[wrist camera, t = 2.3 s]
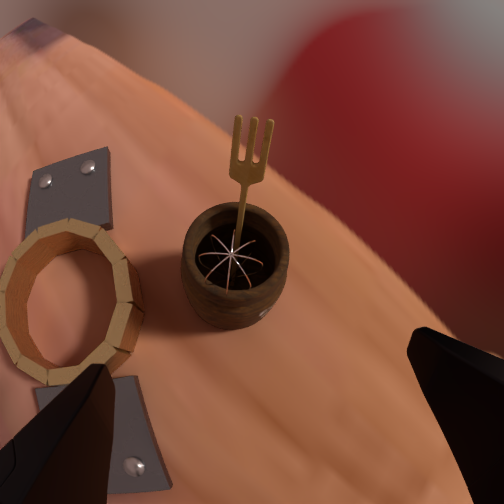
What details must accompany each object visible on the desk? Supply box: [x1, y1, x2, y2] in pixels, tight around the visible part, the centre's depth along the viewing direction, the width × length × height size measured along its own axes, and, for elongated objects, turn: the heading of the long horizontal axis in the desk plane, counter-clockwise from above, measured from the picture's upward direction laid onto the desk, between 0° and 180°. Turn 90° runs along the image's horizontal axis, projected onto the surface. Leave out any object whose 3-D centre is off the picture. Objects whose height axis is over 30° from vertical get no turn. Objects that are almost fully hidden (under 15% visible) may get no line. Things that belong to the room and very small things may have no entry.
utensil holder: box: [181, 115, 289, 330], centre depth 15 cm, size 6×6×12 cm
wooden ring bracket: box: [0, 146, 173, 494], centre depth 17 cm, size 27×11×3 cm, turn 16°
